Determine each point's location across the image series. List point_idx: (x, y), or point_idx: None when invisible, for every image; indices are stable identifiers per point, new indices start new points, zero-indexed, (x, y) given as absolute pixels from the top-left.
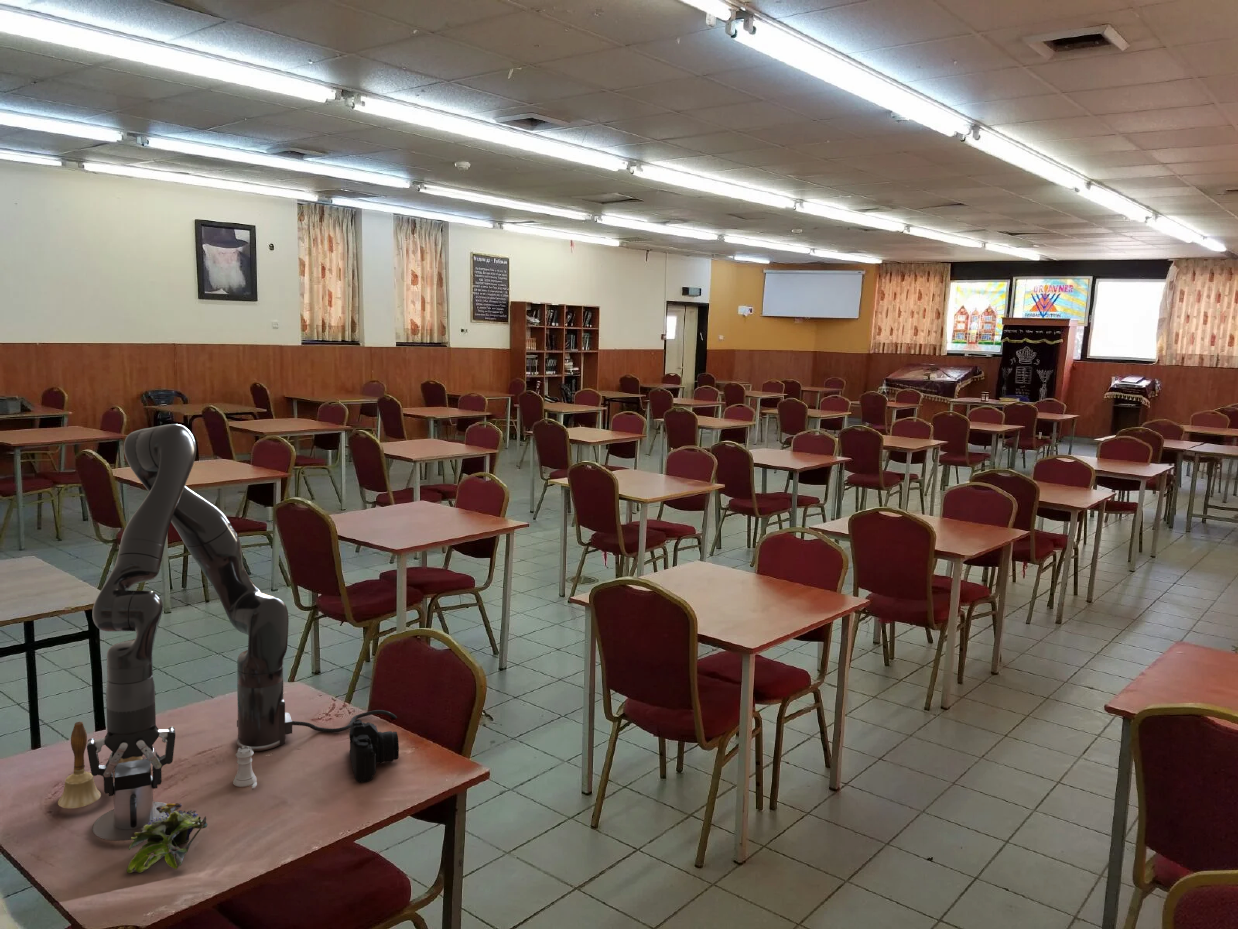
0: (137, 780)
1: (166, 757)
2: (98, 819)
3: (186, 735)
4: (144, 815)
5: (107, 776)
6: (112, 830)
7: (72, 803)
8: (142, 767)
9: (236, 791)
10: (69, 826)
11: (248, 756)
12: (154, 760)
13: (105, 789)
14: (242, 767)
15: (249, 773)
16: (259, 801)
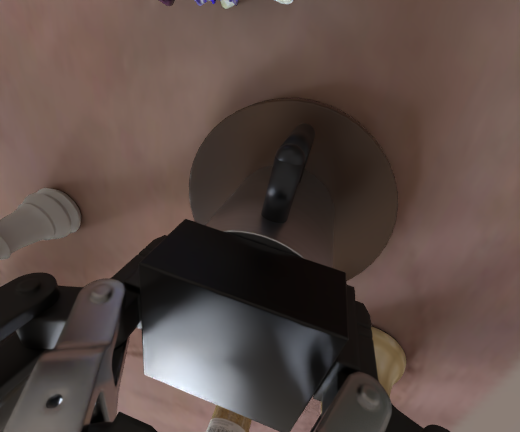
0: (227, 261)
1: (12, 313)
2: (356, 272)
3: (157, 399)
4: (258, 178)
5: (366, 380)
6: (348, 197)
7: (379, 360)
8: (178, 333)
9: (77, 206)
10: (408, 300)
11: None
12: (83, 333)
13: (364, 319)
14: (5, 227)
15: (12, 213)
16: (26, 131)
